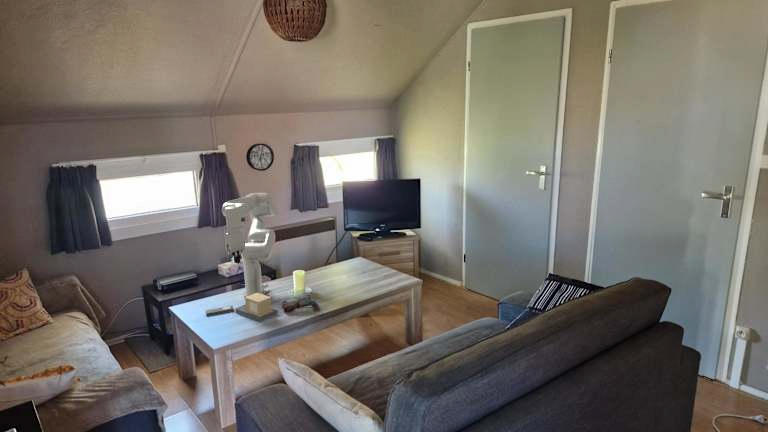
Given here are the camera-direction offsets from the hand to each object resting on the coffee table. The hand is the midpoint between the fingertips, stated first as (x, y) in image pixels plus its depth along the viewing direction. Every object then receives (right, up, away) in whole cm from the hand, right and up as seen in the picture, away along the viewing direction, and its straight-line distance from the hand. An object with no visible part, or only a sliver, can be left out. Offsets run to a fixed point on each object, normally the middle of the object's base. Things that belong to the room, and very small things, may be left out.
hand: (237, 262), depth 260 cm
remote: (-11, -28, +4) cm, 30 cm away
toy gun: (+34, -27, +3) cm, 43 cm away
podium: (+10, -27, +1) cm, 29 cm away
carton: (+8, -21, -1) cm, 22 cm away
